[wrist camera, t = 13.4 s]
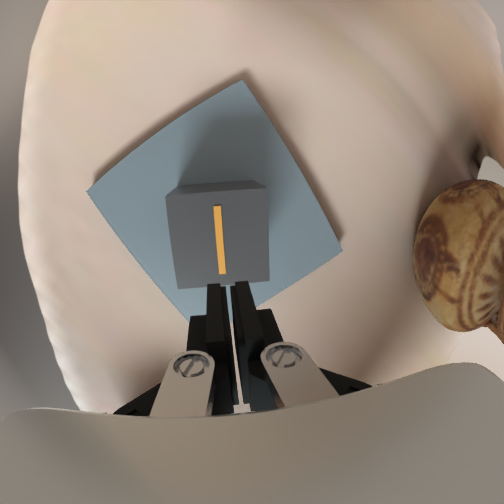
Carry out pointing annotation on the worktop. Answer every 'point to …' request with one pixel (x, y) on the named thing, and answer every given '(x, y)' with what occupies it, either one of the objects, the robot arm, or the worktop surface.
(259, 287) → the base
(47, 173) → the worktop surface
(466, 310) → the clay pot
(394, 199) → the worktop surface
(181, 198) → the dark grey cube
